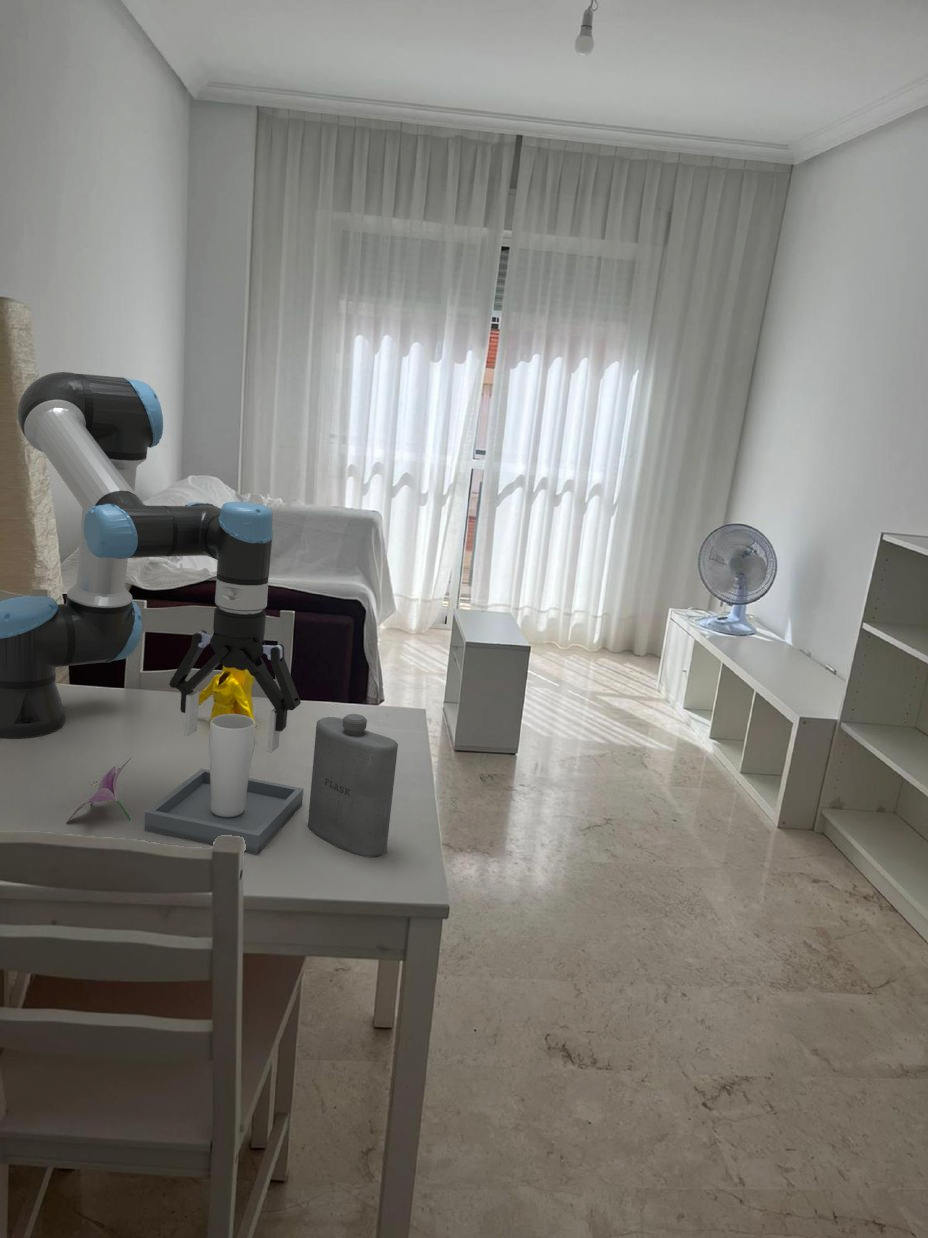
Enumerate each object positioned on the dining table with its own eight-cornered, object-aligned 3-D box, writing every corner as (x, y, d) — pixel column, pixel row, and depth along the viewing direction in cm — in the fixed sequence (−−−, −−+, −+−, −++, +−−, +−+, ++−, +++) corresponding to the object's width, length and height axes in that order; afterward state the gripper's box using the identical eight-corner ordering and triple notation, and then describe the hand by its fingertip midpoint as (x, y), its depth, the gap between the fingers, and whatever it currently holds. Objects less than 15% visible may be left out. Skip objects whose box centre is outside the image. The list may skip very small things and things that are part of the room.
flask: (297, 826, 144) (307, 706, 140) (323, 816, 149) (334, 699, 144) (367, 863, 136) (380, 736, 131) (393, 850, 140) (406, 727, 136)
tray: (144, 830, 137) (145, 812, 136) (200, 785, 154) (201, 768, 154) (257, 854, 134) (258, 835, 134) (302, 805, 152) (303, 788, 151)
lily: (130, 800, 148) (101, 750, 146) (174, 797, 141) (144, 744, 139) (70, 847, 139) (38, 794, 137) (114, 845, 132) (81, 790, 130)
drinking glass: (238, 824, 140) (244, 732, 137) (197, 816, 142) (202, 724, 138) (256, 806, 147) (262, 718, 143) (217, 798, 148) (222, 710, 145)
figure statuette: (182, 720, 182) (188, 612, 177) (213, 712, 188) (219, 607, 183) (246, 746, 173) (254, 634, 168) (276, 737, 179) (284, 628, 174)
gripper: (150, 599, 135) (144, 734, 140) (311, 627, 131) (299, 765, 136) (175, 589, 142) (168, 718, 147) (328, 616, 138) (316, 747, 143)
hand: (231, 741), depth 142 cm, fingers open, 13 cm apart
